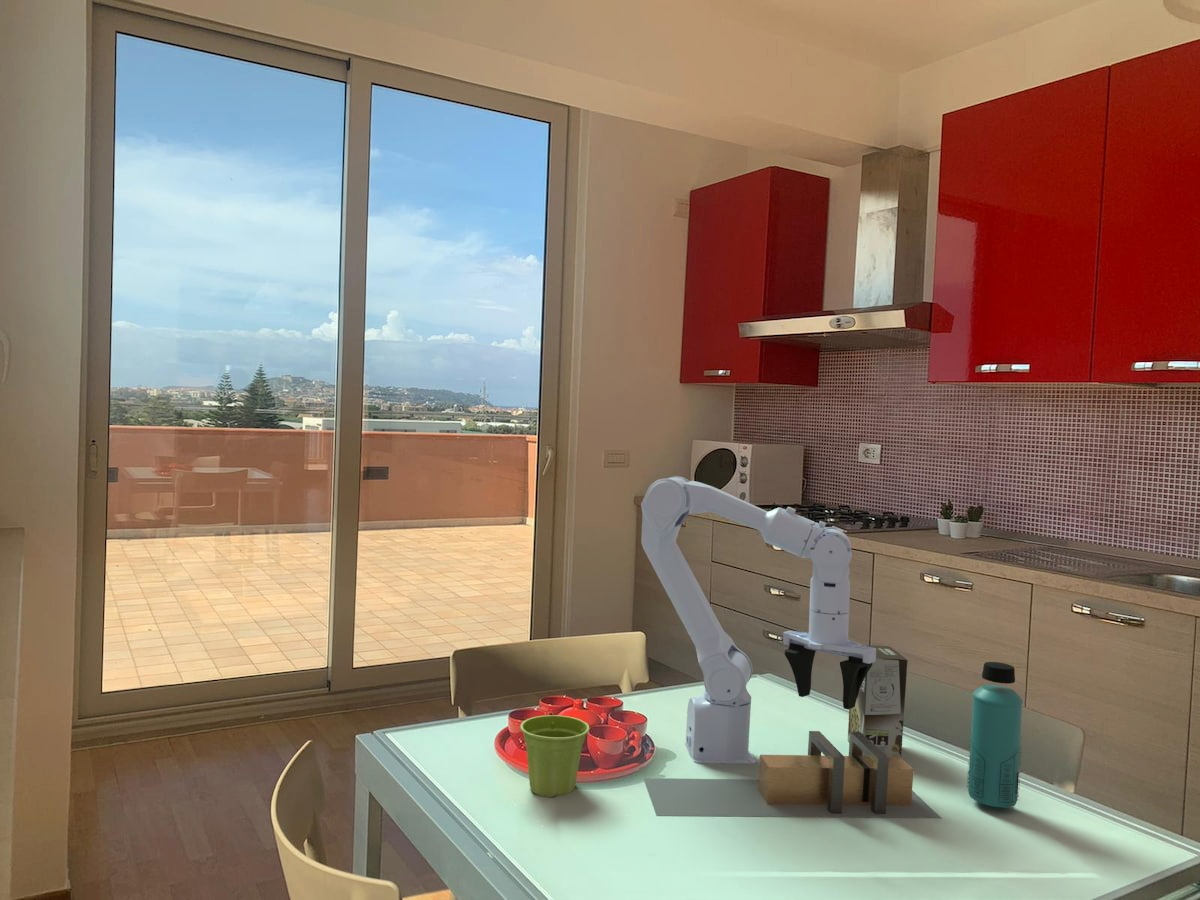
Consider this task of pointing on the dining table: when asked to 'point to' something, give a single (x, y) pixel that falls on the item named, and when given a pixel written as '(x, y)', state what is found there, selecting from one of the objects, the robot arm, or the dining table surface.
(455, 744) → the dining table surface
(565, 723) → the plant pot
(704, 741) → the robot arm
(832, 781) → the collar
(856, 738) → the collar
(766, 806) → the mat
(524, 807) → the dining table surface
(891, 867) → the dining table surface
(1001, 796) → the beverage bottle
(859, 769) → the striped wooden beam
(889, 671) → the coffee box
